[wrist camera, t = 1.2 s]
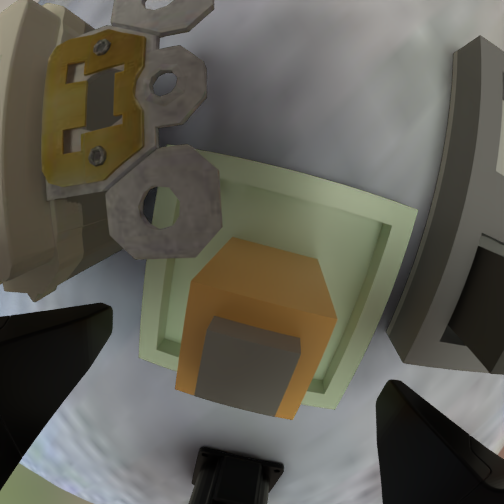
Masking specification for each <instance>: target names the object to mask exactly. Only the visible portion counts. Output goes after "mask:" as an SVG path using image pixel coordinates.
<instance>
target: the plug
mask: <svg viewBox="0 0 504 504" xmlns="http://www.w3.org/2000/svg"><path fill="white" fill-rule="evenodd" d="M337 320H338V319H337V316H336V313H335V309H334V306H333V303H332V300H331V297H330V294H329V291H328V288H327V285H326V282H325V279H324V276H323V273H322V270H321V267H320V265H319V262H318V259H315V258H311V257H308V256H304V255H300V254H296V253H292V252H289V251H285V250H281V249H277V248H273V247H270V246H266V245H262V244H258V243H254V242H251V241H247V240H243V239H239V238H235V237H232V238H231V239H230V240H229V241H228V242H227V243H226V244H225V245H224V246H223V247H222V248H221V249H220V250H219V251H218V252H217V254H216V255H215V256H214V257H213V258H212V259H211V260H210V261H209V262H208V263H207V264H206V265H205V266H204V267H203V268H202V270H201V271H200V272H199V273H198V274H197V275H196V276H195V277H194V278H193V279H192V280H191V283H190V289H189V295H188V301H187V307H186V314H185V320H184V326H183V333H182V340H181V347H180V354H179V362H178V369H177V377H176V385H175V389H176V390H179V391H182V392H185V393H188V394H191V395H194V396H196V397H200V398H203V399H206V400H210V401H213V402H216V403H220V404H224V405H227V406H231V407H235V408H239V409H243V410H247V411H251V412H255V413H259V414H264V415H269V416H273V417H279V418H285V419H290V420H293V418H294V416H295V414H296V412H297V410H298V408H299V406H300V404H301V402H302V400H303V398H304V396H305V394H306V392H307V390H308V387H309V385H310V383H311V381H312V379H313V377H314V374H315V372H316V370H317V368H318V365H319V363H320V361H321V359H322V356H323V354H324V352H325V349H326V347H327V345H328V342H329V340H330V337H331V335H332V332H333V330H334V327H335V325H336V322H337Z"/></svg>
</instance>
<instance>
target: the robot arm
mask: <svg viewBox="0 0 504 504" xmlns="http://www.w3.org/2000/svg"><path fill="white" fill-rule="evenodd" d="M112 328H113V310H112V307H111V306H109V305H106V304H104V303H94V304H88V305H81V306H75V307H68V308H61V309H54V310H47V311H40V312H33V313H26V314H19V315H11V316H3V317H0V490H1V489H2V487H3V486H4V484H5V483H6V481H7V480H8V478H9V476H10V475H11V474H12V472H13V471H14V469H15V468H16V466H17V465H18V463H19V462H20V461H21V459H22V457H23V456H24V454H25V453H26V452H27V450H28V449H29V447H30V446H31V445H32V443H33V442H34V440H35V439H36V438H37V436H38V435H39V433H40V432H41V431H42V429H43V428H44V427H45V425H46V424H47V423H48V421H49V420H50V419H51V417H52V416H53V415H54V413H55V412H56V411H57V409H58V408H59V407H60V405H61V404H62V403H63V401H64V400H65V399H66V398H67V396H68V395H69V394H70V392H71V391H72V390H73V389H74V387H75V386H76V385H77V383H78V382H79V381H80V380H81V378H82V377H83V376H84V375H85V373H86V372H87V371H88V369H89V368H90V367H91V365H92V364H93V362H94V361H95V359H96V357H97V356H98V354H99V353H100V351H101V349H102V348H103V346H104V345H105V343H106V342H107V340H108V339H109V337H110V335H111V333H112ZM376 426H377V448H378V456H379V465H380V475H381V486H382V499H383V504H504V459H503V458H501V457H499V456H498V455H496V454H495V453H494V452H492V451H491V450H489V449H488V448H486V447H485V446H484V445H482V444H481V443H480V442H478V441H477V440H476V439H474V438H473V437H472V436H469V434H468V433H467V432H465V431H464V430H463V429H461V428H460V427H459V426H458V425H456V424H455V423H454V422H452V421H451V420H450V419H449V418H447V417H446V416H445V415H444V414H442V413H441V412H440V411H438V410H437V409H436V408H435V407H433V406H432V405H431V404H429V403H428V402H427V401H426V400H424V399H423V398H422V397H421V396H419V395H418V394H417V393H416V392H414V391H413V390H412V389H410V388H409V387H408V386H407V385H405V384H404V383H403V382H402V381H399V380H389V381H388V382H387V383H386V385H385V386H384V388H383V390H382V391H381V393H380V395H379V396H378V398H377V401H376ZM283 472H284V466H283V465H281V464H276V463H270V462H264V461H259V460H254V459H249V458H245V457H240V456H236V455H232V454H228V453H224V452H220V451H216V450H213V449H209V448H205V447H204V448H200V450H199V453H198V457H197V461H196V466H195V470H194V475H193V479H192V484H193V485H195V486H194V489H193V492H192V495H191V498H190V501H189V504H267V501H268V493H269V492H270V491H271V489H272V488H273V486H274V485H275V484H276V482H277V481H278V479H279V478H280V476H281V475H282V473H283Z"/></svg>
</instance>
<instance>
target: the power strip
mask: <svg viewBox="0 0 504 504" xmlns="http://www.w3.org/2000/svg"><path fill="white" fill-rule="evenodd" d="M478 246H480V247H483V248H485V249H487V250H490V251H492V252H494V253H497V254H499V255H501V256H503V257H504V52H503V51H502V50H501V49H499V48H498V47H497V46H495V45H494V44H492V43H491V42H489V41H488V40H487V39H485V38H484V37H482V36H481V35H480V36H478V37H477V38H475V39H474V40H472V41H471V42H470V43H468V44H467V45H465V46H464V47H462V48H461V49H459V50H458V51H456V52H455V53H454V54H453V76H452V90H451V101H450V110H449V118H448V125H447V132H446V139H445V145H444V150H443V156H442V161H441V166H440V171H439V175H438V180H437V184H436V189H435V193H434V197H433V201H432V205H431V209H430V212H429V216H428V219H427V223H426V226H425V230H424V233H423V236H422V240H421V243H420V246H419V249H418V252H417V255H416V258H415V261H414V264H413V267H412V269H411V272H410V275H409V278H408V280H407V283H406V286H405V288H404V291H403V293H402V296H401V298H400V301H399V303H398V306H397V308H396V311H395V313H394V315H393V318H392V320H391V322H390V324H389V327H388V329H387V331H386V333H387V335H388V336H389V338H390V340H391V342H392V344H393V345H394V347H395V349H396V351H397V353H398V355H399V356H400V358H401V360H402V362H403V363H406V364H412V365H419V366H427V367H435V368H443V369H452V370H461V371H472V372H484V373H489V372H488V370H487V369H486V368H485V367H484V366H483V364H482V363H481V362H480V361H479V360H478V359H477V357H476V356H475V355H474V354H473V353H472V352H471V350H470V349H469V348H468V347H467V346H466V345H465V344H464V343H463V341H462V340H461V339H460V338H459V337H458V336H457V335H456V334H455V333H454V332H453V330H452V329H451V328H450V327H449V326H448V323H449V320H450V318H451V316H452V314H453V312H454V309H455V307H456V305H457V302H458V300H459V297H460V295H461V293H462V290H463V287H464V285H465V282H466V280H467V277H468V274H469V271H470V269H471V266H472V263H473V260H474V257H475V254H476V251H477V248H478Z"/></svg>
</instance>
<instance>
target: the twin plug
mask: <svg viewBox="0 0 504 504" xmlns="http://www.w3.org/2000/svg"><path fill="white" fill-rule="evenodd" d="M448 326H449V327H450V328H451V329H452V330H453V332H454V333H455V334H456V335H457V336H458V337H459V338H460V339H461V340H462V341H463V343H464V344H465V345H466V346H467V347H468V348H469V349H470V350H471V352H472V353H473V354H474V355H475V356H476V357H477V359H478V360H479V361H480V362H481V363H482V364H483V366H484V367H485V368H486V369H487V370H488V372H489V373H490V374H503V375H504V257H503V256H501V255H499V254H497V253H494V252H492V251H490V250H487V249H485V248H483V247H480V246H478V248H477V251H476V254H475V257H474V260H473V263H472V266H471V269H470V271H469V274H468V277H467V280H466V282H465V285H464V287H463V290H462V293H461V295H460V297H459V300H458V302H457V305H456V307H455V309H454V312H453V314H452V316H451V318H450V320H449V323H448Z"/></svg>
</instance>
